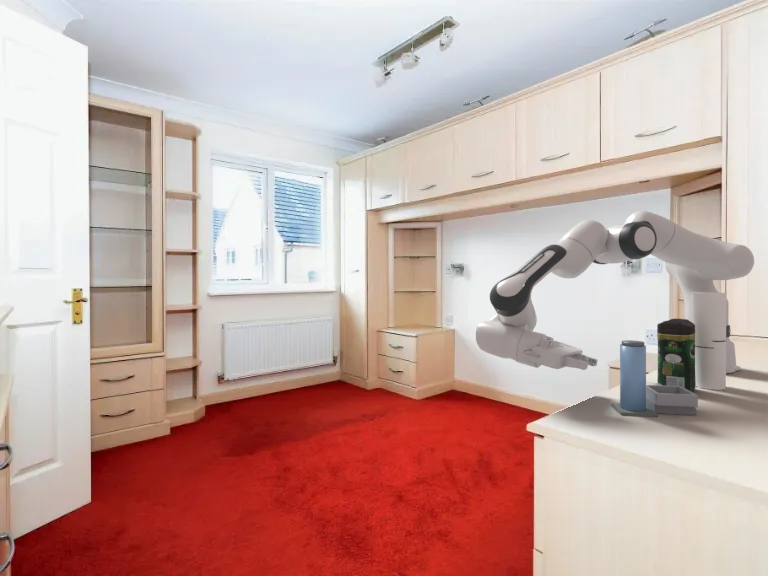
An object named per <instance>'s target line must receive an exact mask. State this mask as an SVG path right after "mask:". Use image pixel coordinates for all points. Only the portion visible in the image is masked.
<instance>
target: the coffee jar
mask: <svg viewBox="0 0 768 576" xmlns="http://www.w3.org/2000/svg"><path fill="white" fill-rule="evenodd" d="M656 326H657V328H656V329H657V331H656V332H657V333H656V336H657V338H656V339H657V382H656V383H658V384H661V385H665V386H681V387H683V388H685V389H687V390H689V391H691V392H694V391H695V389H696V388H697V387H696V380H695V324H694V323H692V322H690V321H689V320H687V319H685V318H671V319H668V320H663V321H662V322H660V323H657V325H656Z"/></svg>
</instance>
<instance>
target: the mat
mask: <svg viewBox="0 0 768 576" xmlns="http://www.w3.org/2000/svg"><path fill="white" fill-rule="evenodd" d="M610 406H611V407H612V408H613V409H614V410H615V411H616V413H617V412H618V414H619V415H620V416H631V417H632V416H635V417H653V416H657V417H658V413H655V412H654V411H652V410H651V409H650V408H648V407H647V406H646V411H642V412H636V411H628V410H625V409H622V408H621V407H620V402H611V403H610Z"/></svg>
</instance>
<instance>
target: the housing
mask: <svg viewBox="0 0 768 576" xmlns="http://www.w3.org/2000/svg"><path fill="white" fill-rule="evenodd" d="M646 406H647V407H648V408H650V409H651V410H652V411H654V412H655V413H656V414H663V413H665V414H667V415H691V416H696V414H697V408H698V407H699V395H698V394H696V393H694V391H692V392H691V391H689V390H687V389H685V388H683V387H681V386H665V385H646Z"/></svg>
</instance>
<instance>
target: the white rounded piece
mask: <svg viewBox="0 0 768 576" xmlns="http://www.w3.org/2000/svg"><path fill="white" fill-rule="evenodd" d="M646 385H661V384H658V383H657V382H651V381H650V382H649V381H646Z"/></svg>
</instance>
